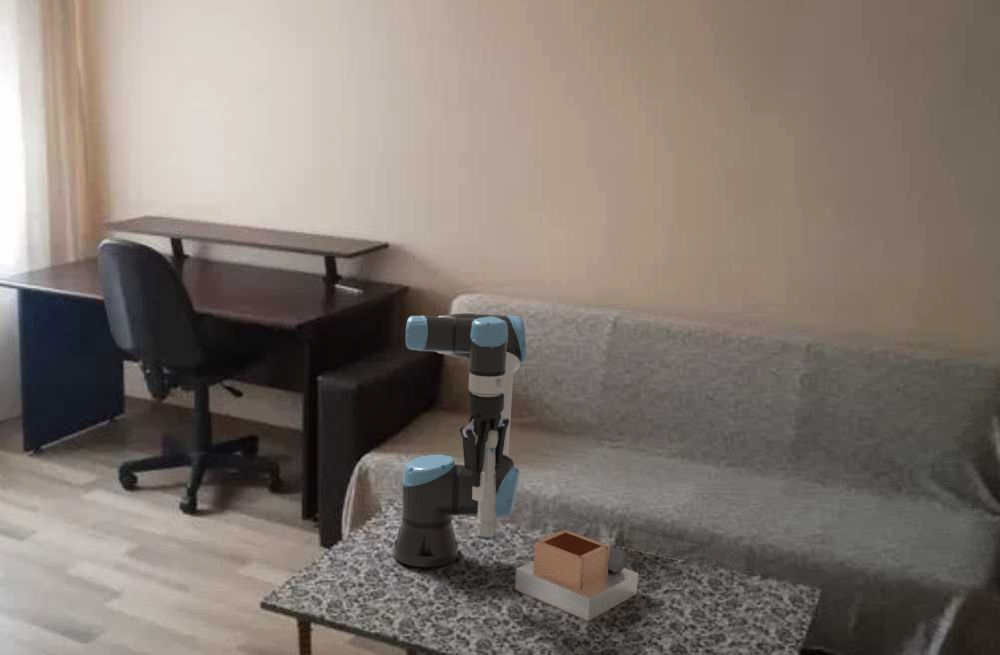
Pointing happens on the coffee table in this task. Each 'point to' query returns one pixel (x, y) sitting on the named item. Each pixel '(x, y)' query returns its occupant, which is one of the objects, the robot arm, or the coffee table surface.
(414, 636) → the coffee table surface
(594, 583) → the open box on base
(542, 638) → the coffee table surface
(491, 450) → the pale grey tall bar
